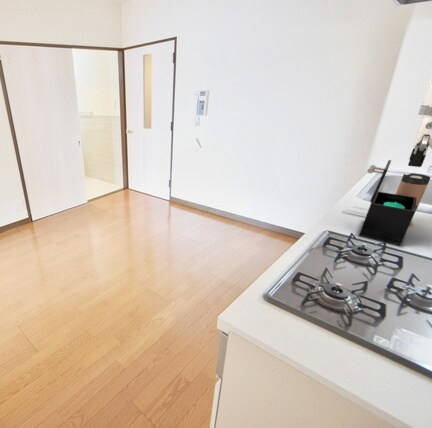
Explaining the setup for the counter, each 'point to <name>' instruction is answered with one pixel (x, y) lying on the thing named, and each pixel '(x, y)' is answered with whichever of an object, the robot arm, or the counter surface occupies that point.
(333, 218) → the counter surface
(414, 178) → the travel mug
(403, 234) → the black flip-top box
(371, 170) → the black hinged box lid
